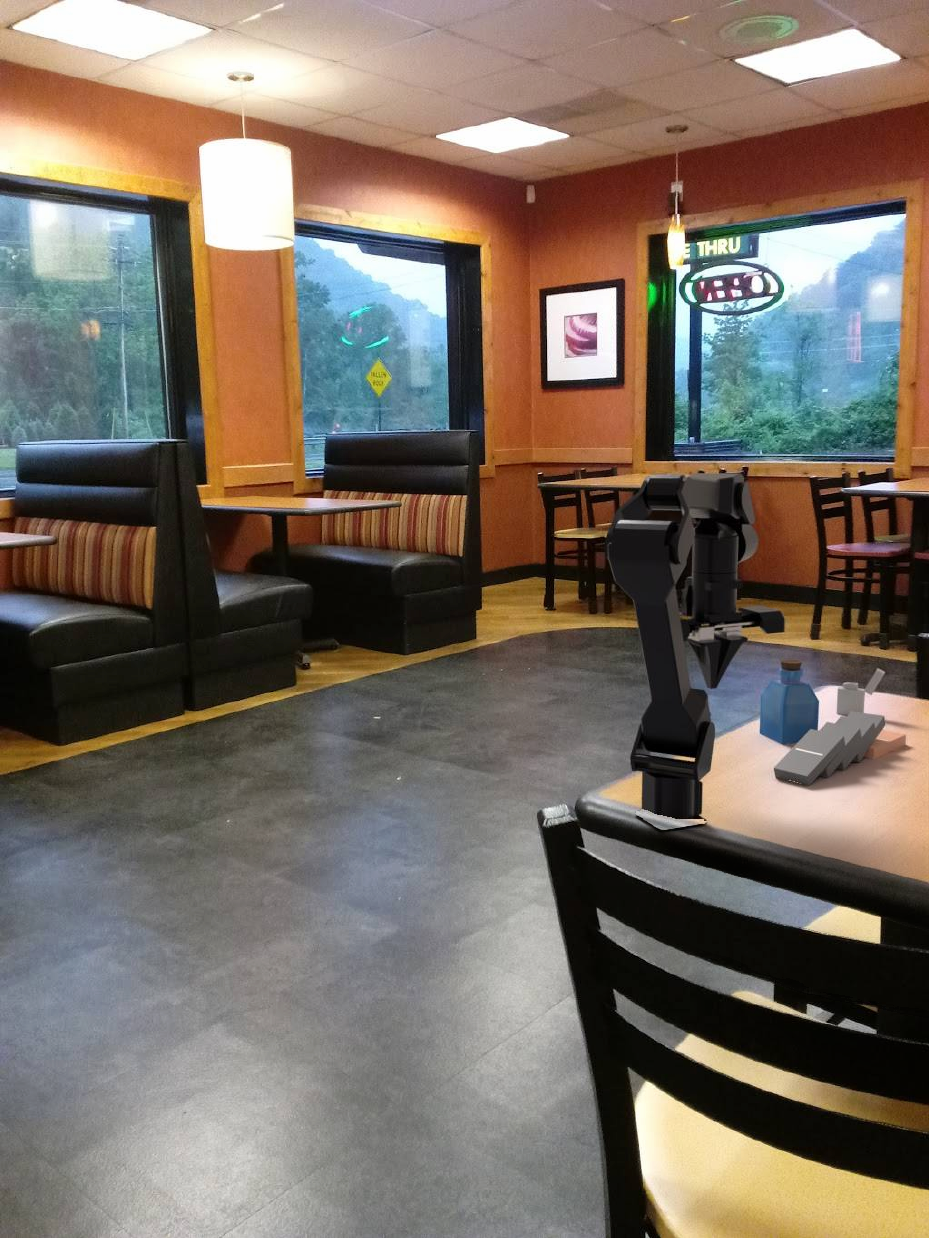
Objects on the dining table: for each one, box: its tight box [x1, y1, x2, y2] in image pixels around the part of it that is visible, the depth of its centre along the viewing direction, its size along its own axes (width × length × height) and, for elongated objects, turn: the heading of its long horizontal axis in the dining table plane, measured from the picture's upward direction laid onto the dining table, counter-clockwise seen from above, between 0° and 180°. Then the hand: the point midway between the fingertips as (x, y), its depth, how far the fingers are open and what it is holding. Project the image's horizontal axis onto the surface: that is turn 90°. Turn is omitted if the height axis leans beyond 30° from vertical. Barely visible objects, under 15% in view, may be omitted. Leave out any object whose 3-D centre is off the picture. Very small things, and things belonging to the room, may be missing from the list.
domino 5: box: [863, 729, 907, 760], centre depth 157 cm, size 2×5×10 cm
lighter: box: [836, 668, 886, 716], centre depth 175 cm, size 7×2×8 cm, turn 63°
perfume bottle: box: [759, 658, 820, 745], centre depth 163 cm, size 6×6×12 cm
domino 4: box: [846, 711, 886, 763], centre depth 155 cm, size 2×5×10 cm
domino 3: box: [835, 715, 875, 771], centre depth 151 cm, size 2×5×10 cm
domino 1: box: [773, 729, 845, 786], centre depth 145 cm, size 2×5×10 cm
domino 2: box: [818, 721, 862, 779], centre depth 148 cm, size 2×5×10 cm
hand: (711, 688), depth 140 cm, fingers closed
